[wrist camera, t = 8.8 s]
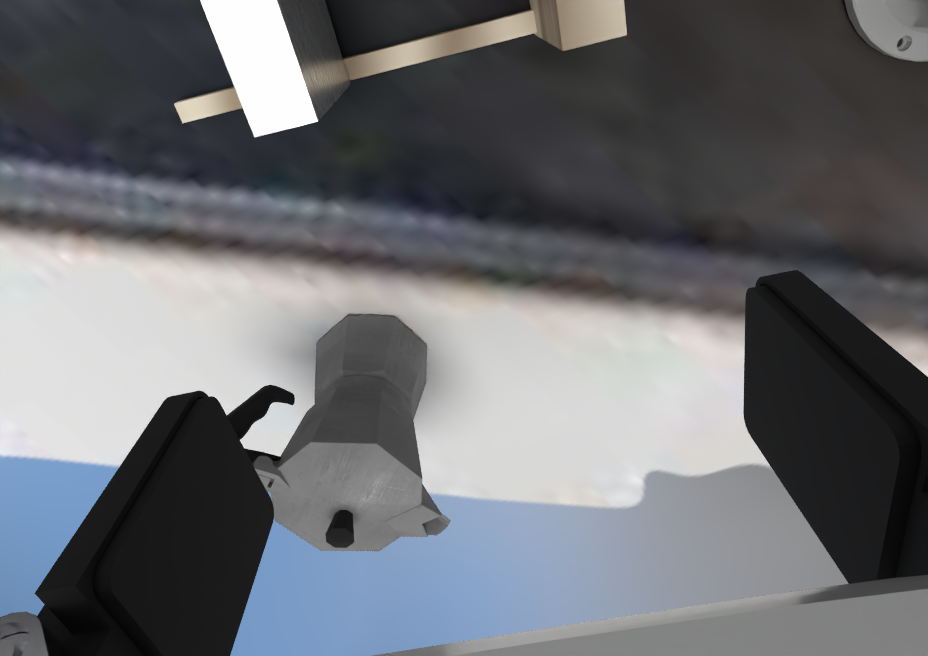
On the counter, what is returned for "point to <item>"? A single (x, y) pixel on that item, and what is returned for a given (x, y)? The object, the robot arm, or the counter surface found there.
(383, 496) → the coffeepot
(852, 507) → the robot arm
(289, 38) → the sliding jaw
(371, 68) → the frame
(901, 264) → the counter surface
